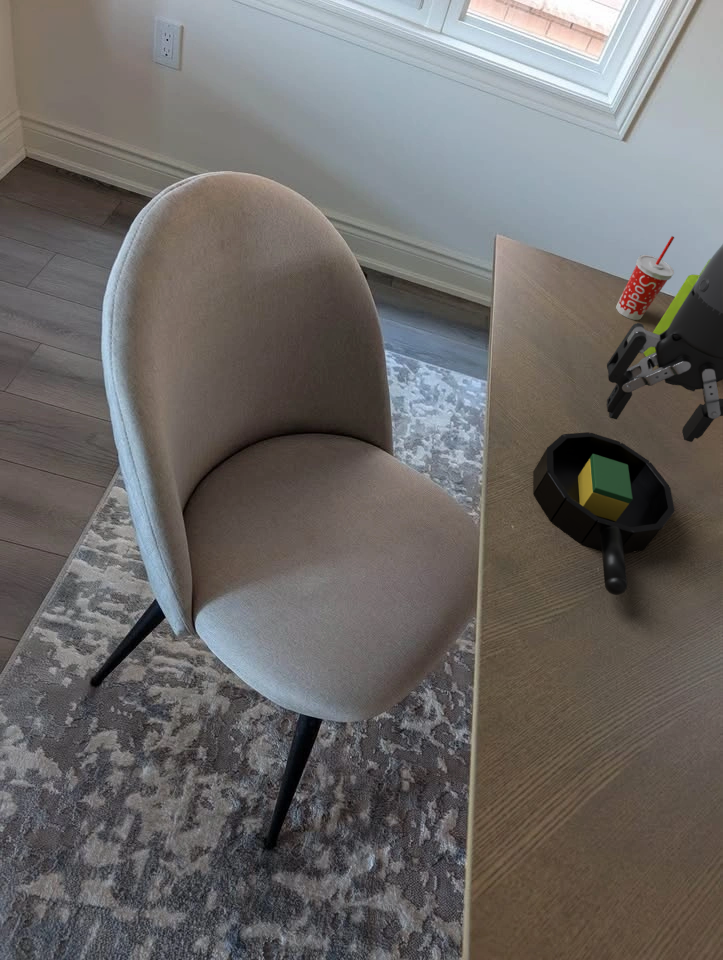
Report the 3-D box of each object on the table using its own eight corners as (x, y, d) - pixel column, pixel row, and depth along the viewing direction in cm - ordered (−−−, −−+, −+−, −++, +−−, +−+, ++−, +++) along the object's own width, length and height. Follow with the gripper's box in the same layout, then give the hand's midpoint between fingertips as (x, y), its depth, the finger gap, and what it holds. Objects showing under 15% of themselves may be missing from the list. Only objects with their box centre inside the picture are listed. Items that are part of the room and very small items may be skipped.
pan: (533, 441, 96) (546, 417, 93) (648, 477, 96) (664, 454, 94) (532, 587, 78) (549, 564, 76) (672, 630, 79) (694, 608, 76)
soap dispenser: (635, 356, 117) (708, 240, 103) (648, 340, 122) (719, 228, 108) (669, 376, 116) (747, 261, 102) (681, 359, 120) (757, 247, 107)
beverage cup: (605, 305, 127) (647, 229, 117) (623, 298, 130) (666, 224, 121) (634, 326, 124) (680, 250, 114) (652, 317, 128) (698, 243, 118)
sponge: (577, 476, 92) (592, 453, 89) (612, 487, 92) (628, 464, 90) (579, 510, 88) (595, 487, 85) (615, 521, 88) (632, 499, 85)
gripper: (795, 300, 74) (704, 423, 85) (658, 257, 73) (584, 386, 84) (816, 341, 68) (716, 466, 79) (668, 295, 67) (588, 428, 79)
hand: (648, 425), depth 82 cm, fingers open, 8 cm apart
